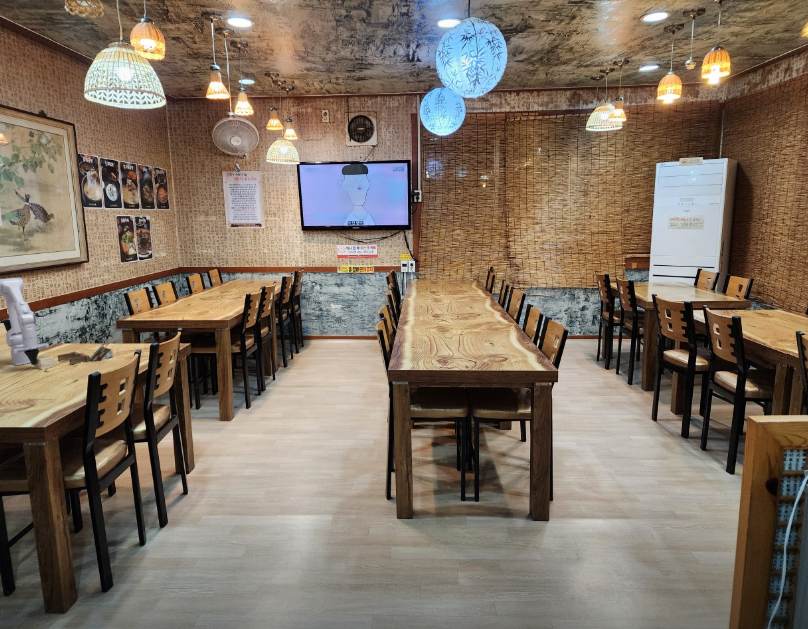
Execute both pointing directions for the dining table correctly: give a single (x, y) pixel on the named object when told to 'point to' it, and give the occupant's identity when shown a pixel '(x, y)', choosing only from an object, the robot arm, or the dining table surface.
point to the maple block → (44, 362)
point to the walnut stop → (74, 357)
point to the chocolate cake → (102, 354)
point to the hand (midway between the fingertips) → (33, 364)
